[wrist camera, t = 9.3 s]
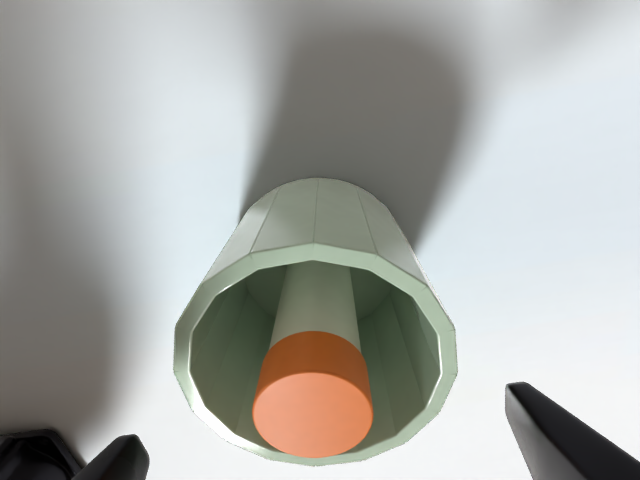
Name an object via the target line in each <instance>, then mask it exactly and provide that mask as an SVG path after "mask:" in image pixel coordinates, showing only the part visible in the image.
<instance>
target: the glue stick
mask: <svg viewBox="0 0 640 480" xmlns="http://www.w3.org/2000/svg"><path fill="white" fill-rule="evenodd" d="M373 415H374V413H373V404H372V398H371V391H370V384H369V378H368V371H367V366H366V362H365V360H364V358H363V356H362V354H361V347H360V339H359V332H358V325H357V317H356V310H355V303H354V296H353V288H352V281H351V274H350V266H344V265H339V264H333V263H328V262H322V261H317V260H309V261H304V262H298V263H292V264H287V269H286V273H285V278H284V282H283V287H282V292H281V296H280V301H279V305H278V310H277V315H276V319H275V324H274V329H273V333H272V338H271V342H270V347H269V351H268V352H267V354H266V355H265V358H264V360H263V363H262V367H261V371H260V376H259V380H258V384H257V389H256V393H255V397H254V402H253V406H252V417H253V421H254V425H255V427H256V429H257V431H258V432H259V434H260V435H261V436H262V438H263V439H264V440H265V441H266V442H268V443H269V444H270V445H272V446H273V447H275V448H276V449H278V450H280V451H282V452H285V453H287V454H291V455H294V456H299V457H306V458H323V457H329V456H334V455H338V454H341V453H343V452H346V451H348V450H350V449H351V448H353V447H355V446H356V445H357V444H359V443H360V442H361V441H362V440H363V439H364V438H365V437H366V435H367V434H368V432H369V430H370V428H371V425H372V422H373Z"/></svg>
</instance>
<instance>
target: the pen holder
mask: <svg viewBox="0 0 640 480" xmlns="http://www.w3.org/2000/svg"><path fill="white" fill-rule="evenodd" d="M309 260H317V261H322V262H328V263H333V264H339V265H344V266H350V274H351V281H352V288H353V296H354V303H355V310H356V317H357V325H358V332H359V339H360V347H361V354H362V356H363V358H364V360H365V362H366V366H367V371H368V378H369V384H370V391H371V398H372V404H373V413H374V415H373V422H372V425H371V428H370V430H369V432H368V434H367V435H366V437H365V438H364V439H363V440H362V441H361V442H360V443H359V444H357V445H356V446H355V447H353V448H351V449H350V450H348V451H346V452H343V453H341V454H338V455H334V456H329V457H323V458H306V457H299V456H294V455H291V454H287V453H285V452H282V451H280V450H278V449H276V448H275V447H273V446H272V445H270V444H269V443H268V442H266V441H265V440H264V439H263V438H262V436H261V435H260V434H259V432H258V431H257V429H256V427H255V425H254V421H253V417H252V406H253V402H254V397H255V393H256V389H257V384H258V380H259V376H260V371H261V367H262V363H263V360H264V358H265V355H266V354H267V352H268V351H269V347H270V342H271V338H272V333H273V329H274V324H275V319H276V315H277V310H278V305H279V301H280V296H281V292H282V287H283V282H284V278H285V273H286V269H287V264H292V263H298V262H304V261H309ZM173 370H174V374H175V376H176V378H177V380H178V382H179V385H180V387H181V389H182V391H183V393H184V395H185V397H186V399H187V401H188V404H189V406H190V408H191V409H192V410H193V412H194V413H195V414H196V415H197V416H198V417H199V418H201V419H202V420H203V421H204V422H205V423H206V424H207V425H208V426H209V427H211V428H212V429H213V430H214V431H215V432H216V433H217V434H218V435H219V436H221V437H222V438H223V439H224V440H226V441H227V442H229V443H231V444H234V445H236V446H238V447H240V448H243V449H245V450H247V451H249V452H252V453H254V454H256V455H258V456H261V457H263V458H265V459H269V460H273V461H280V462H287V463H294V464H301V465H308V466H325V465H334V464H342V463H350V462H359V461H362V460H367V459H369V458H371V457H374V456H376V455H379V454H381V453H383V452H386V451H388V450H390V449H393V448H395V447H398V446H400V445H402V444H405V442H408V441H409V440H410V439H411V438H412V437H413V436H414V435H416V434H417V433H418V432H419V431H420V430H421V429H422V428H423V427H425V426H426V425H427V424H428V423H429V422H430V421H431V420H432V419H433V418H435V417H436V416H437V415H438V414H439V412H440V411H441V409H442V407H443V405H444V402H445V400H446V398H447V396H448V394H449V392H450V389H451V387H452V385H453V383H454V381H455V379H456V376H457V372H458V367H457V350H456V334H455V328H454V325H453V323H452V321H451V319H450V317H449V316H448V314H447V312H446V310H445V308H444V306H443V305H442V303H441V301H440V299H439V297H438V295H437V294H436V292H435V290H434V288H433V286H432V284H431V283H430V281H429V279H428V277H427V275H426V273H425V272H424V270H423V268H422V266H421V264H420V262H419V261H418V259H417V257H416V255H415V253H414V251H413V250H412V248H411V246H410V244H409V242H408V240H407V239H406V237H405V235H404V233H403V232H402V230H401V228H400V227H399V225H398V224H397V222H396V220H395V218H394V217H393V215H392V214H391V212H390V211H389V209H388V208H387V207H386V206H385V205H384V204H383V203H382V202H381V201H380V200H378V199H377V198H376V197H375V196H373V195H372V194H371V193H369V192H367V191H366V190H364V189H362V188H361V187H358V186H356V185H353V184H351V183H348V182H345V181H341V180H337V179H330V178H307V179H300V180H296V181H292V182H288V183H286V184H283V185H281V186H279V187H276V188H275V189H273V190H271V191H270V192H268V193H266V194H265V195H264V196H262V197H261V198H260V199H259V200H257V202H256V203H254V204H253V205H251V207H249V209H248V210H247V212H246V214H245V215H244V217H243V218H242V220H241V221H240V223H239V224H238V226H237V228H236V229H235V231H234V232H233V234H232V235H231V237H230V238H229V240H228V242H227V243H226V245H225V246H224V248H223V249H222V251H221V252H220V254H219V256H218V257H217V259H216V260H215V262H214V263H213V265H212V266H211V268H210V270H209V271H208V273H207V274H206V276H205V277H204V279H203V280H202V282H201V284H200V285H199V287H198V288H197V290H196V292H195V293H194V295H193V297H192V298H191V300H190V302H189V303H188V305H187V306H186V308H185V310H184V311H183V313H182V315H181V316H180V318H179V320H178V321H177V323H176V326H175V334H174V360H173Z"/></svg>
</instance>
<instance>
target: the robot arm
mask: <svg viewBox="0 0 640 480" xmlns="http://www.w3.org/2000/svg"><path fill="white" fill-rule="evenodd" d="M505 412H506V416H507V419H508V422H509V424H510V426H511V429H512V431H513V433H514V436H515V438H516V441H517V443H518V445H519V448H520V450H521V452H522V455H523V457H524V459H525V462H526V464H527V466H528V469H529V471H530V473H531V476H532V478H533V480H640V462H639V461H638V460H636V459H635V458H633V457H632V456H631V455H629V454H628V453H626V452H625V451H623V450H622V449H621V448H619V447H618V446H616V445H615V444H614V443H612V442H611V441H609V440H608V439H606V438H605V437H604V436H602V435H601V434H599V433H598V432H596V431H595V430H594V429H592V428H591V427H589V426H588V425H587V424H585V423H584V422H582V421H581V420H579V419H578V418H577V417H575V416H574V415H572V414H571V413H569V412H568V411H567V410H565V409H564V408H562V407H561V406H560V405H558V404H557V403H555V402H554V401H552V400H551V399H550V398H548V397H547V396H545V395H544V394H542V393H541V392H540V391H538V390H537V389H535V388H534V387H533V386H531V385H530V384H528V383H526V382H516V383H509V384H507V385H506V388H505ZM148 468H149V455H148V453H147V451H146V449H145V447H144V446H143V444H142V442H141V441H140V439H139V437H138V436H137V435H135V434H131V435H123V436H120V437H118V438H116V439H115V440H114V441H113V442H112V443H111V444H109V445H108V446H107V447H106V448H105V449H104V450H103V451H102V452H101V453H100V454H99V455H97V456H96V457H95V458H94V459H93V460H92V461H91V462H90V463H89V464H88V465H87V466H85V467H84V468H83V469H81V468H80V466H79V465H78V464H77V462H76V461H75V459H74V458H73V457H72V455H71V454H70V452H69V451H68V450H67V448H66V447H65V445H64V444H63V442H62V441H61V440H60V438H59V437H58V435H57V434H56V433H55V432H54V431H52V430H48V429H44V430H37V431H30V432H23V433H15V434H8V435H1V436H0V480H145V479H146V475H147V472H148Z"/></svg>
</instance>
